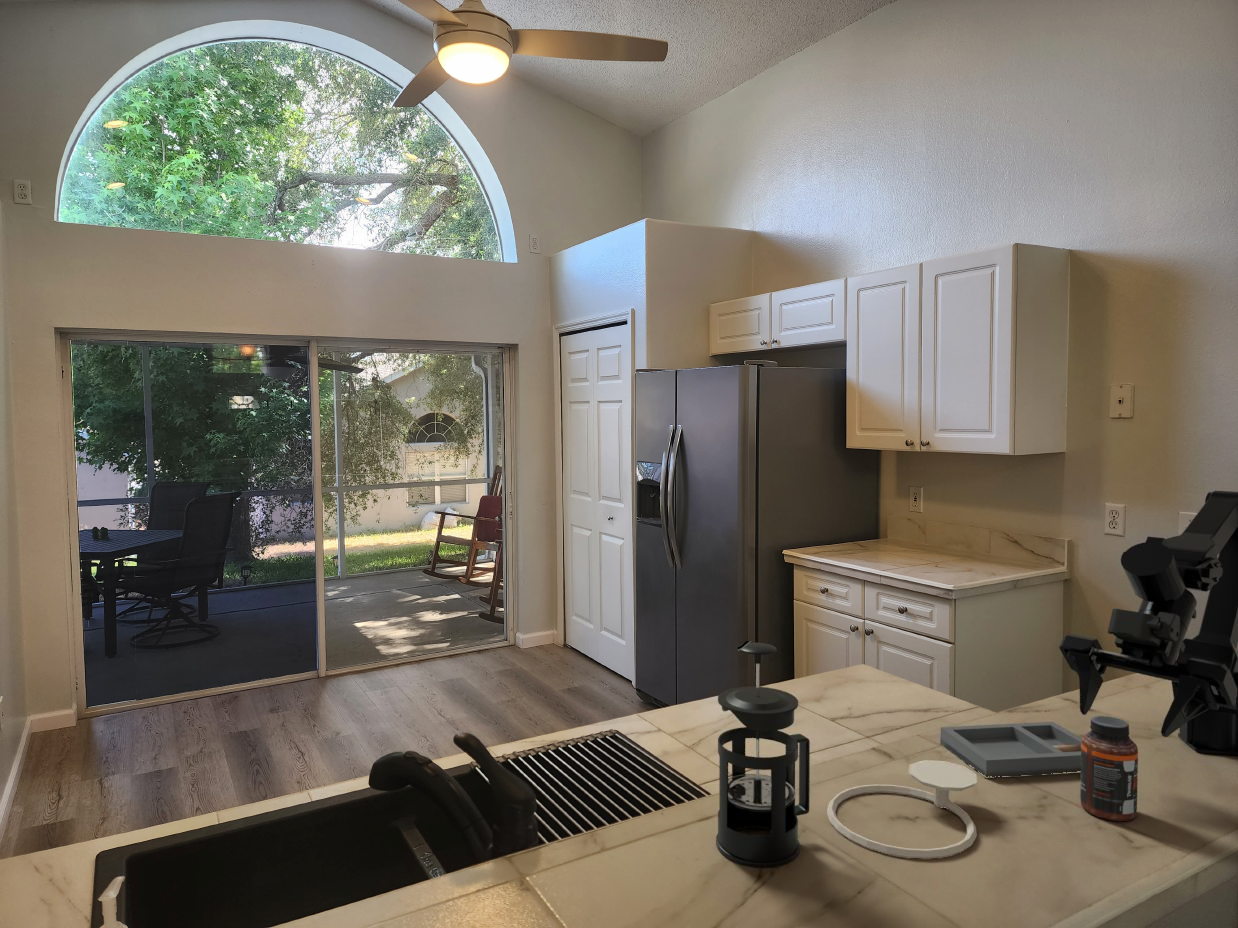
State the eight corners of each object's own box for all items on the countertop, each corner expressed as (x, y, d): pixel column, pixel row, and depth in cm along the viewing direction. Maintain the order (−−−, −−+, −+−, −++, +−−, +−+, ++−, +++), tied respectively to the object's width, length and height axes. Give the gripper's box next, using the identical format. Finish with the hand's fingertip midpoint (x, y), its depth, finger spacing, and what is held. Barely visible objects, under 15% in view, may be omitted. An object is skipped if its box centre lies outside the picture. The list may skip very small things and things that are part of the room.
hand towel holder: (797, 778, 97) (908, 743, 108) (797, 813, 97) (908, 775, 108) (911, 838, 83) (1026, 791, 93) (911, 879, 83) (1026, 827, 93)
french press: (736, 876, 83) (736, 661, 82) (696, 834, 92) (696, 639, 91) (829, 854, 87) (830, 650, 86) (783, 816, 96) (783, 630, 95)
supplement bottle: (1146, 825, 93) (1148, 731, 93) (1090, 820, 94) (1092, 728, 94) (1124, 802, 99) (1126, 713, 99) (1072, 798, 100) (1074, 710, 100)
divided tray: (1052, 737, 120) (1052, 721, 120) (1109, 771, 108) (1110, 753, 108) (940, 743, 118) (940, 727, 118) (986, 778, 106) (986, 760, 106)
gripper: (1067, 575, 108) (1024, 668, 102) (1231, 598, 93) (1192, 708, 87) (1092, 623, 113) (1053, 715, 107) (1253, 653, 98) (1217, 761, 92)
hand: (1121, 723), depth 98 cm, fingers open, 9 cm apart
